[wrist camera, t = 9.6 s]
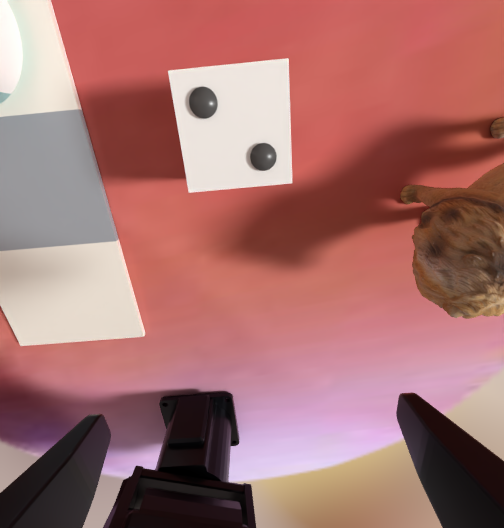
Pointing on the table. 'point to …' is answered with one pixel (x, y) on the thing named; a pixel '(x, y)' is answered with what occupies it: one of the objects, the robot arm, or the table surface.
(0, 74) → the can
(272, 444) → the table surface
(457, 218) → the lion figurine
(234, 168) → the die
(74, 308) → the board
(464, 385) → the table surface
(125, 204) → the table surface
